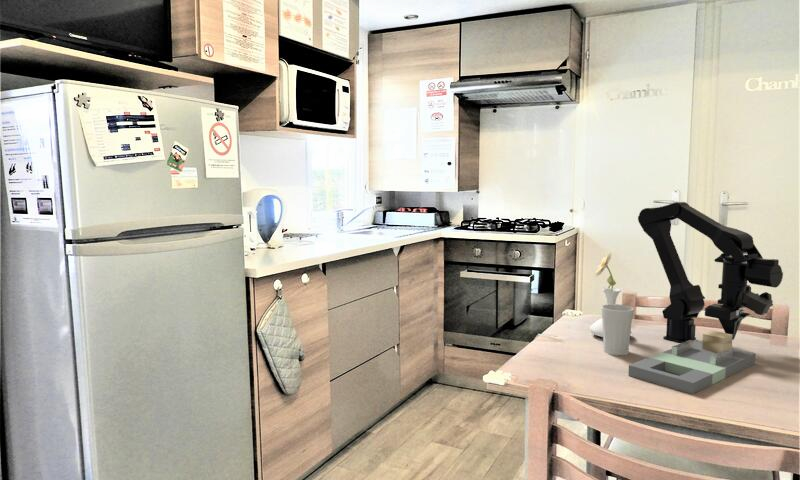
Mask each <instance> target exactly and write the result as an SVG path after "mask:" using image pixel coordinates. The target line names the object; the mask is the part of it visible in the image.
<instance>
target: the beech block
mask: <svg viewBox="0 0 800 480" xmlns="http://www.w3.org/2000/svg"><path fill="white" fill-rule="evenodd" d="M732 336H733V335H732V334H727V333H725V332H723V331H716V330H710V331H707V332H705V333H703V334H702V341H701V342H702V349H703V350H708V351H712V352H717V353H718V352H720V351H722V350H725V349H727V348H729V349H732V348H733V340H732Z"/></svg>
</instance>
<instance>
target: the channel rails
mask: <svg viewBox="0 0 800 480" xmlns="http://www.w3.org/2000/svg"><path fill="white" fill-rule="evenodd" d="M694 344H695V341H694V340H688V341H686V342H683V343H681V342H679V343H678V344H675V345H673V346H671V349H672V355H676V356H677V355H679V354H682V353H684V352H687V351H689V350H692V349H694ZM733 349H734V348H733ZM733 349H729V348H727V349H725V350H722V351H720V352H718V353H715V354H713V355H711V356H710V364H713V365H717V364H719V363H721V362H723V361H726V360H728V359H730V358H732V356H733Z"/></svg>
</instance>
